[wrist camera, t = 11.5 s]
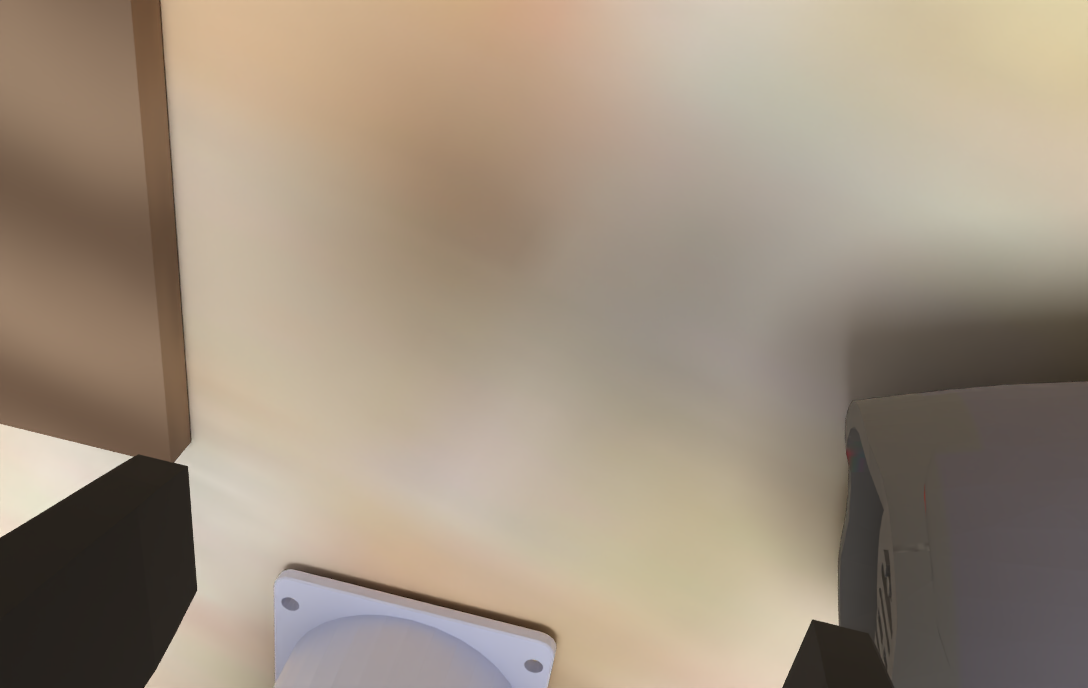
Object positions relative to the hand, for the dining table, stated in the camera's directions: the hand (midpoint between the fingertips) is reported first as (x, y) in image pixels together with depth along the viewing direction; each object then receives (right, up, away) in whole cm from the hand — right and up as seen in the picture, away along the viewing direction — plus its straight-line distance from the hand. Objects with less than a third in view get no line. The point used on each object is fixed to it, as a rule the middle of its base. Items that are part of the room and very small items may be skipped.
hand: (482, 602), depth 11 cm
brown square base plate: (-15, +8, +11) cm, 20 cm away
